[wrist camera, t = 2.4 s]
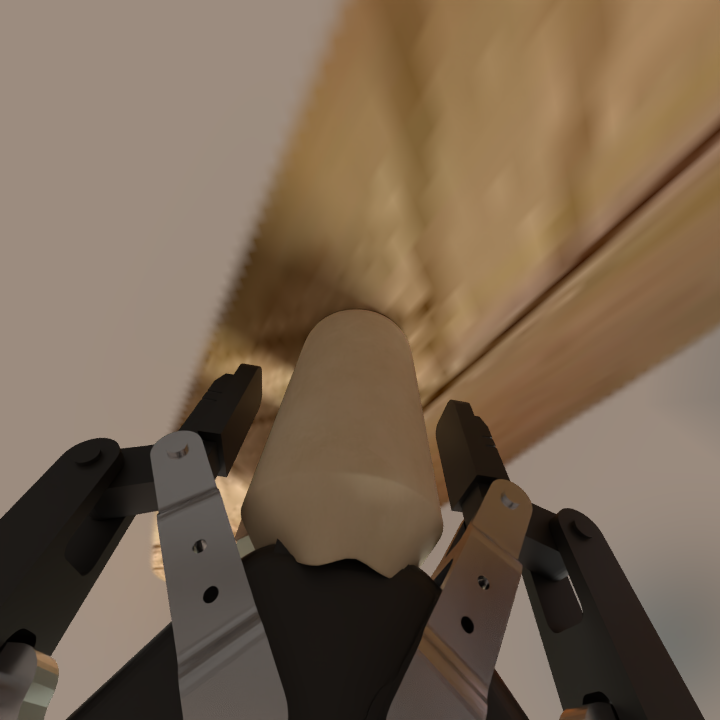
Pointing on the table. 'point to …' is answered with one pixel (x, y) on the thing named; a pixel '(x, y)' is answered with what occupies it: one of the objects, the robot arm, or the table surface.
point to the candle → (348, 453)
